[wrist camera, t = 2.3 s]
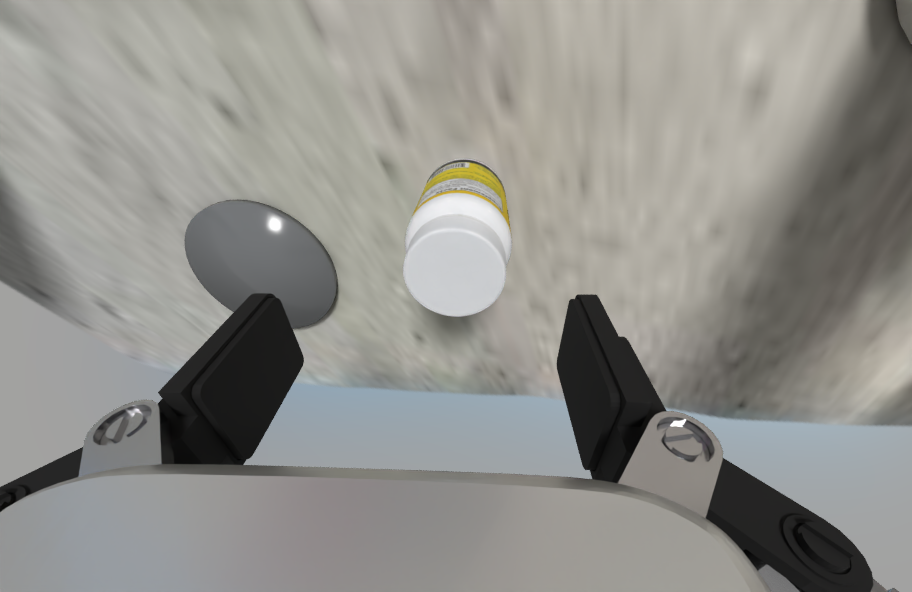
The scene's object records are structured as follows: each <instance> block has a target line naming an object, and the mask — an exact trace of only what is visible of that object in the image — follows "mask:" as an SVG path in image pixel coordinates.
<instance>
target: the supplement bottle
mask: <svg viewBox="0 0 912 592" xmlns="http://www.w3.org/2000/svg"><path fill="white" fill-rule="evenodd" d="M511 248H512V237H511V230H510V224H509V216H508V210H507V203H506V196H505V191H504V187H503V184H502V182H501V180H500V178H499V177H498V175H497V174H496V173H495V172H494V171H493V170H492V169H491V168H490V167H489V166H487V165H485V164H484V163H482V162H479V161H476V160H472V159H456V160H452V161H449V162H447V163H445V164H443V165H441V166H440V167H439V168H437V169H436V170H435V171H434V172H433V174H432V175H431V176H430V178H429V180H428V181H427V184H426V186H425V188H424V191H423V193H422V195H421V198H420V200H419V202H418V204H417V207H416V209H415V211H414V213H413V215H412V218H411V220H410V223H409V225H408V228H407V232H406V237H405V249H406V256H405V259H404V264H403V275H404V280H405V283H406V286H407V288H408V290H409V291H410V293H411V295H412V296H413V297H414V298H415V299H416V300H417V301H418V302H419V303H420V304H421V305H423V306H424V307H426V308H427V309H429V310H431V311H433V312H436V313H438V314H441V315H446V316H454V317H460V316H468V315H472V314H476V313H478V312H480V311H483V310H484V309H486V308H488V307H489V306H490V305H491V304H493V303H494V302H495V301H496V300H497V298H498V297H499V295H500V294H501V292H502V290H503V288H504V284H505V280H506V266H507V263H508V261H509V258H510V255H511Z"/></svg>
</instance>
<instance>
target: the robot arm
mask: <svg viewBox="0 0 912 592" xmlns="http://www.w3.org/2000/svg"><path fill="white" fill-rule="evenodd" d="M896 5H897V11H898V18H899V22H900V24H901V26H902V28H903V30H904V32H905V34H906V36H907V38H908V40H909V41H910V43H911V45H912V0H896ZM303 362H304V358H303V354H302V352H301V349H300V347H299V344H298V342H297V339H296V337H295V334H294V332H293V330H292V327H291V325H290V322H289V320H288V317H287V315H286V312H285V310H284V307H283V305H282V302H281V300H280V299H279V298H276V297H275V295H273V294H271V293H254V294H251V295H250V296H249V297H248V298H247V299H246V300H245V301H244V302H243V303H242V304H241V306H240V307H239V308H238V309H237V310H236V311H235V312H234V313H233V314H232V315H231V316H230V317H229V318H228V319H227V320H226V321H225V322H224V323H223V324H222V326H221V327H220V328H219V329H218V330H217V331H216V332H215V333H214V334H213V335H212V336H211V337H210V338H209V339H208V340H207V341H206V342H205V343H204V345H203V346H202V347H201V348H200V349H199V350H198V351H197V352H196V353H195V354H194V355H193V356H192V357H191V358H190V359H189V360H188V361H187V362H186V363H185V365H184V366H183V367H182V368H181V369H180V370H179V371H178V372H177V373H176V374H175V375H174V376H173V377H172V378H171V379H170V380H169V381H168V383H167V384H166V385H165V386H164V387H163V388H162V389H161V390H160V391H159V392H158V393H159V394H160V396H161V397H162V398H163V399H162V400H161V401H160V402H159V403H158V404H157V403H156V402H154V401H153V400H139V401H134V402H131V403H128V404H125V405H123V406H121V407H119V408H117V409H115V410H113V411H111V412H110V413H108V414H107V415H105V416H104V417H102V418H101V419H100V420H99V421H98V422H97V423H96V424H94V425H93V427H92V428H91V429H90V431H89V432H88V433H87V435H86V438H85V440H84V446H83V447H82V448H80V449H78V450H76V451H74V452H72V453H70V454H68V455H66V456H63V457H62V458H59V459H57V460H55V461H53V462H51V463H49V464H47V465H45V466H43V467H41V468H39V469H37V470H35V471H33V472H31V473H28V474H26V475H24V476H22V477H20V478H18V479H16V480H14V481H12V482H10V483H8V484H6V485H4V486H1V487H0V592H898V591H897V590H896V589H895V588H892V589H890V590H888V591H887V590H886V589H885V588H884V587H882V586H881V585H880V584H879V583H877V581H875V580H874V579H873V577H872V572H871V570H870V568H869V566H868V564H867V562H866V560H865V558H864V556H863V555H862V554H861V553H860V551H859V550H858V549H857V547H856V546H855V545H854V544H853V543H852V542H851V541H850V540H849V539H848V538H847V537H846V536H845V535H844V534H843V533H842V532H841V531H840V530H838V529H837V528H835V527H834V526H832V525H831V524H830V523H828V522H827V521H826V520H824V519H822V518H821V517H819V516H817V515H816V514H814V513H812V512H811V511H809V510H808V509H806V508H804V507H803V506H801V505H799V504H798V503H796V502H794V501H793V500H791V499H790V498H788V497H786V496H784V495H783V494H781V493H780V492H778V491H776V490H775V489H773V488H771V487H770V486H768V485H766V484H765V483H763V482H762V481H760V480H758V479H757V478H755V477H753V476H752V475H750V474H748V473H747V472H745V471H743V470H742V469H740V468H739V467H737V466H735V465H734V464H732V463H730V462H729V461H727V460H725V459H724V458H723V450H722V447H721V445H720V442H719V441H718V439H717V438H716V436H715V435H714V433H713V432H711V430H709V429H708V428H707V427H706V426H705V425H704V424H703V423H701V422H699V421H698V420H696V419H694V418H693V417H690V416H688V415H686V414H683V413H679V412H674V411H666V409H665V408H664V406H663V404H662V402H661V400H660V398H659V396H658V395H657V393H656V391H655V389H654V387H653V385H652V384H651V382H650V380H649V378H648V376H647V374H646V373H645V371H644V369H643V367H642V365H641V363H640V361H639V360H638V358H637V356H636V354H635V352H634V350H633V349H632V347H631V345H630V343H629V342H628V340H627V339H626V338H625V337H619V336H618V334H617V332H616V330H615V328H614V326H613V325H612V323H611V321H610V319H609V317H608V315H607V313H606V311H605V309H604V307H603V305H602V303H601V301H600V299H599V297H598V296H597V295H577V296H576V298H575V299H571V300H570V301H569V305H568V309H567V314H566V319H565V324H564V329H563V334H562V339H561V343H560V348H559V353H558V358H557V370H558V374H559V378H560V382H561V386H562V389H563V393H564V397H565V401H566V405H567V408H568V412H569V416H570V420H571V423H572V427H573V431H574V435H575V439H576V442H577V446H578V450H579V454H580V458H581V461H582V465H583V467H584V469H585V470H590V472H591V475H592V479H583V478H573V477H559V476H540V475H522V474H501V473H474V472H448V471H422V470H419V471H418V470H392V469H391V470H390V469H361V468H360V469H359V468H329V467H293V466H258V465H243V464H244V463H245V461H246V459H249V458H250V457H251V456H252V455H253V453H254V452H255V450H256V448H257V447H258V445H259V443H260V441H261V439H262V438H263V436H264V434H265V432H266V431H267V429H268V427H269V425H270V423H271V422H272V420H273V418H274V416H275V414H276V412H277V411H278V409H279V407H280V405H281V404H282V402H283V400H284V398H285V397H286V395H287V393H288V391H289V389H290V388H291V386H292V384H293V382H294V381H295V379H296V377H297V375H298V373H299V372H300V370H301V368H302V366H303Z"/></svg>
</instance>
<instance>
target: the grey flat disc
mask: <svg viewBox="0 0 912 592" xmlns="http://www.w3.org/2000/svg"><path fill="white" fill-rule="evenodd" d="M185 251H186V255H187V259H188V261H189V264H190V266H191V268H192V270H193V272H194V274H195V275H196V277H197V278H198V280H199V281H200V283H201V284H202V285H203V286H204V288H205V289H206V290H207V291H208V292H209V293H210V294H211V295H212V296H213V297H214V298H215V299H217V300H218V301H219V302H220V303H221V304H223V305H224V306H225V307H227V308H228V309H230V310H231V311H233V312H235V311H236V310H237V309H238V308H239V307H240V306H241V304H242V303H243V302H244V301H245V300H246V299H247V298H248V297H249V296H250V295H251V294H254V293H271V294H273V295H275V297H276V298H279V299H280V300H281V302H282V305H283V307H284V310H285V312H286V315H287V317H288V320H289V322H290V325H291V327H292V328H299V327H304V326H307V325H310V324H312V323H315V322H316V321H318V320H320V319H321V318H322V317H323V316H324V315H325V314H326V313H327V312H328V310H329V309H330V307H331V305H332V304H333V302H334V300H335V297H336V293H337V275H336V270H335V268H334V265H333V262H332V260H331V258H330V256H329V254H328V252H327V251H326V249H325V248H324V246H323V245H322V244H321V242H320V241H319V240H318V239H317V238H316V237H315V236H314V235H313V234H312V233H311V232H310V231H309V230H308V229H307V228H306V227H305V226H304V225H302V224H301V223H300V222H299V221H297V220H296V219H294V218H293V217H291V216H290V215H288V214H286V213H284V212H282V211H280V210H278V209H276V208H273V207H271V206H269V205H265V204H262V203H259V202H254V201H249V200H226V201H222V202H218V203H216V204H213V205H211V206H209V207H207V208H205V209H204V210H202V211H201V212H199V213H198V214H197V215H196V216H195V217H194V218H193V219H192V220H191V222H190V223H189V225H188V227H187V230H186V234H185Z"/></svg>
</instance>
